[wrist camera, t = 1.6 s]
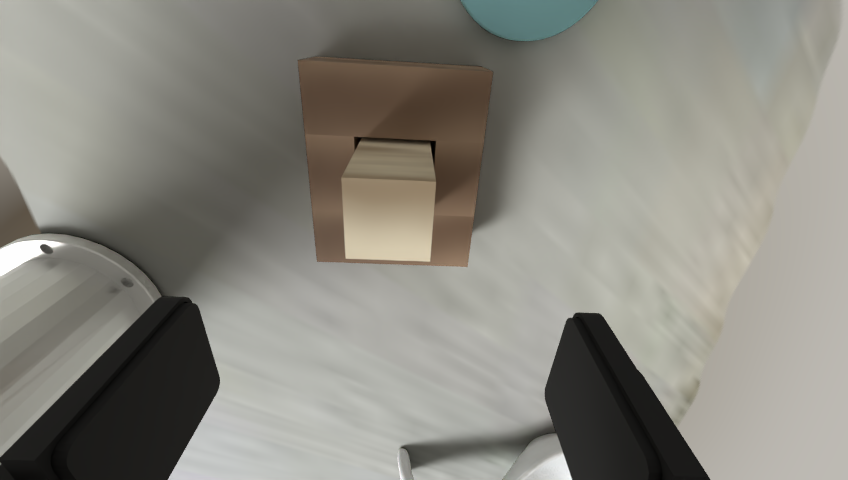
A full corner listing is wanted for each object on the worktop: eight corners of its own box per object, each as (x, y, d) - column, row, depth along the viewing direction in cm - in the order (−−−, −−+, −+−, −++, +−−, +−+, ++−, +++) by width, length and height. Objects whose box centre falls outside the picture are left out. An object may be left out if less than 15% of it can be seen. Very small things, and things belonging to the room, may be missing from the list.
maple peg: (424, 187, 26) (430, 261, 18) (368, 184, 26) (345, 258, 18) (428, 130, 25) (436, 181, 16) (367, 127, 24) (341, 177, 16)
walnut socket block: (460, 238, 29) (467, 266, 25) (329, 233, 28) (316, 261, 25) (481, 66, 23) (493, 71, 19) (316, 56, 22) (297, 59, 19)
